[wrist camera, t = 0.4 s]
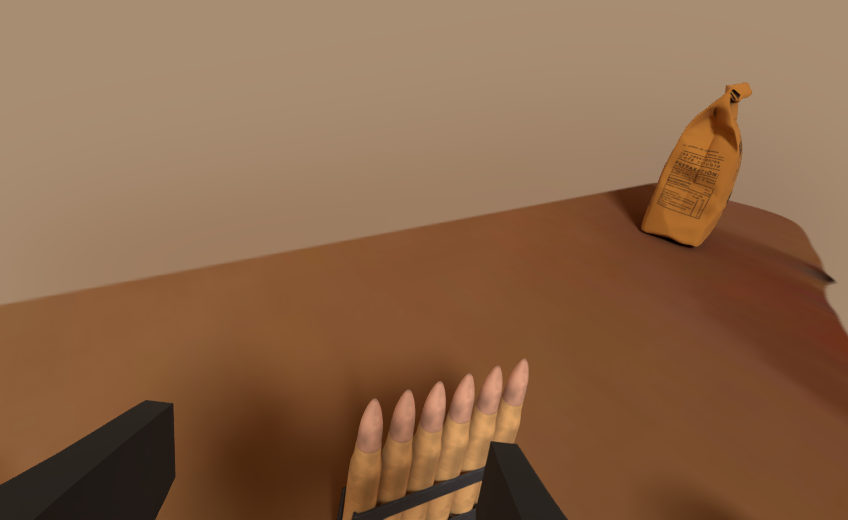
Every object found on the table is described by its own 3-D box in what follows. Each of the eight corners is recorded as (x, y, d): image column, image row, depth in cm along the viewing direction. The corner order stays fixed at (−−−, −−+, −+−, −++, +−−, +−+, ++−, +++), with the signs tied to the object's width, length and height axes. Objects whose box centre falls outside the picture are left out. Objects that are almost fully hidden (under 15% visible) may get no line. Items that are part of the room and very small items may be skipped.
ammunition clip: (342, 577, 29) (363, 419, 23) (331, 547, 30) (348, 390, 24) (500, 510, 34) (549, 366, 28) (484, 486, 35) (527, 345, 30)
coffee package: (719, 234, 83) (787, 90, 72) (698, 257, 74) (771, 96, 63) (657, 211, 88) (711, 73, 77) (629, 229, 79) (686, 77, 68)
